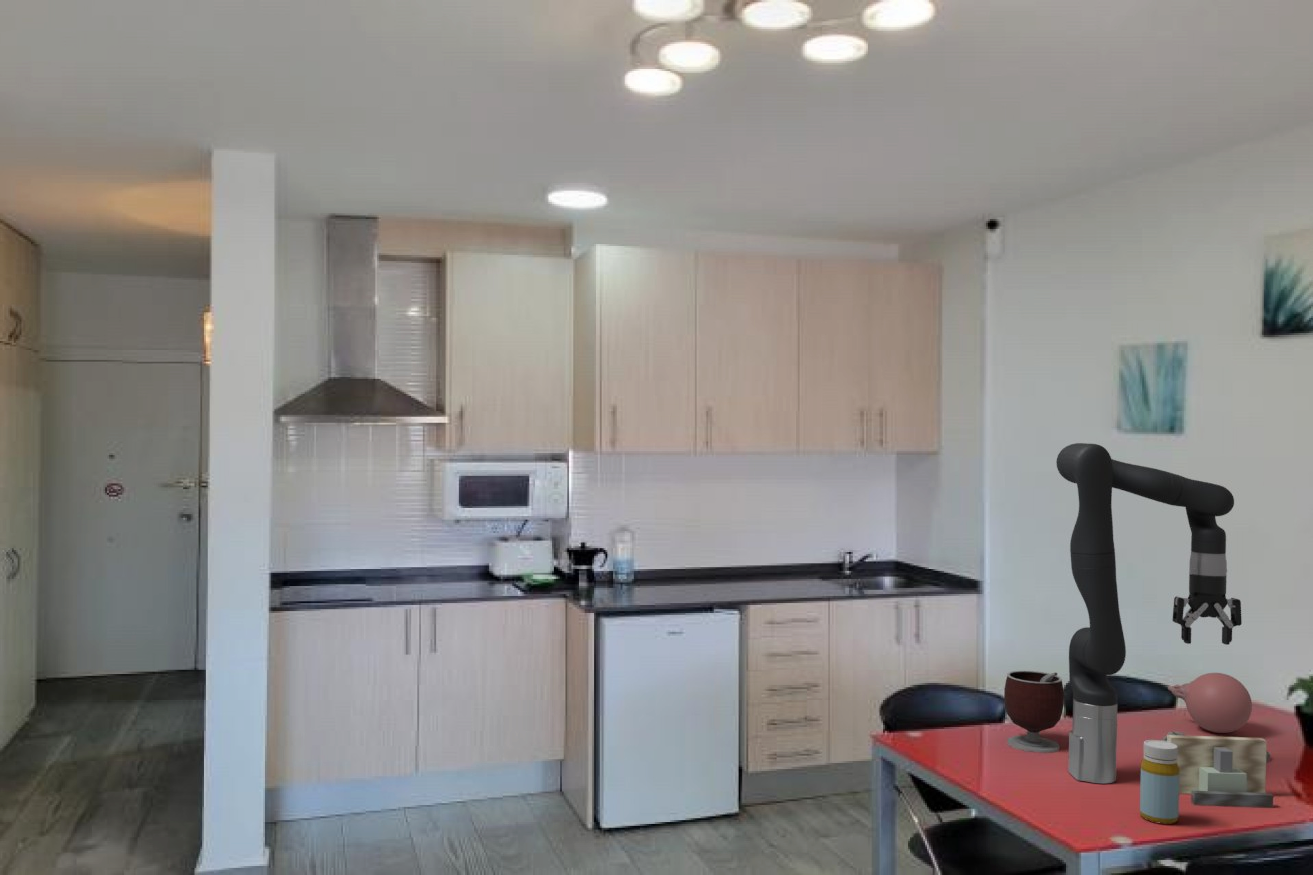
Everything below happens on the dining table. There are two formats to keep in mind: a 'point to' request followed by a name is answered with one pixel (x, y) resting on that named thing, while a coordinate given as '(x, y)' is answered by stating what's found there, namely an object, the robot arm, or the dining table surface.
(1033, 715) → the mate gourd
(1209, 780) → the cabinet block
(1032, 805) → the dining table surface
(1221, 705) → the balloon
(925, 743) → the dining table surface
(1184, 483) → the robot arm
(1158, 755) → the bottle
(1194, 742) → the wall board
